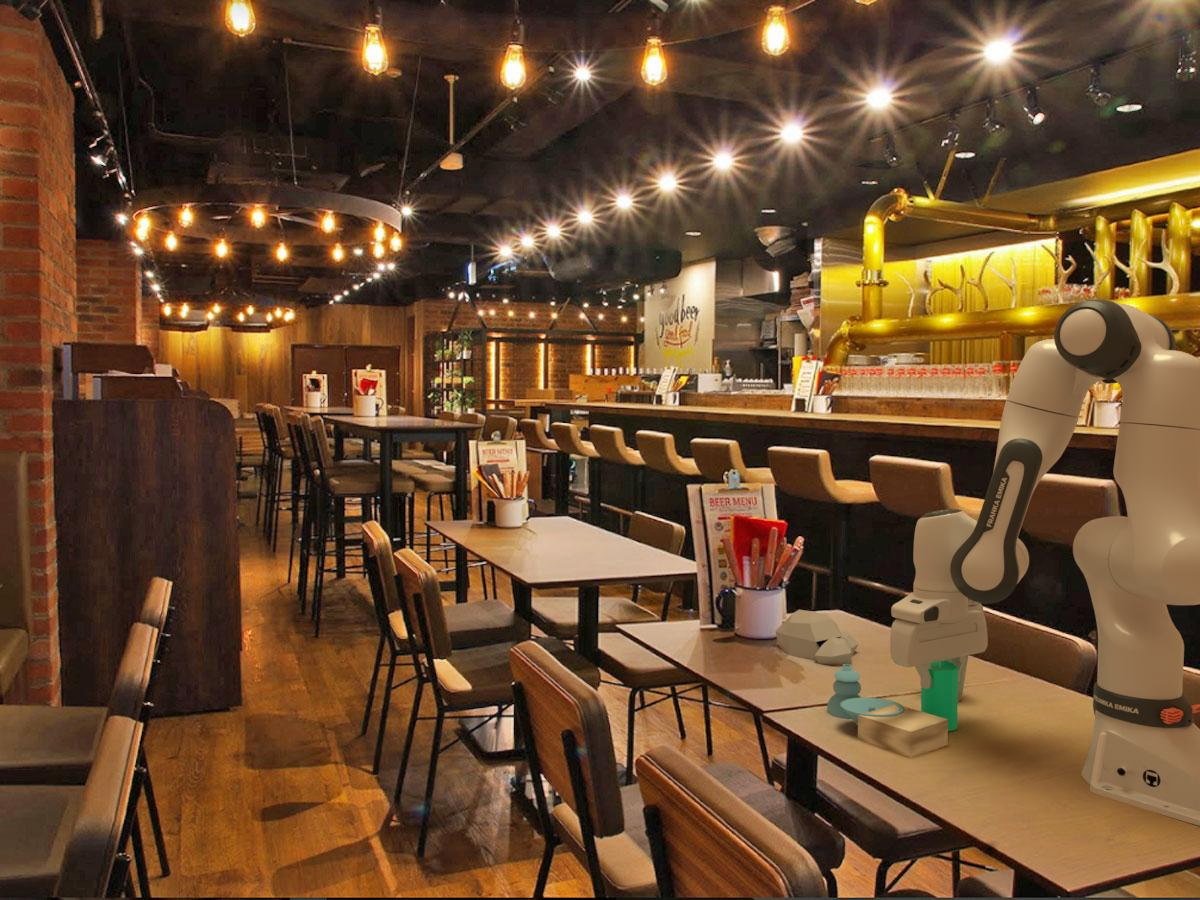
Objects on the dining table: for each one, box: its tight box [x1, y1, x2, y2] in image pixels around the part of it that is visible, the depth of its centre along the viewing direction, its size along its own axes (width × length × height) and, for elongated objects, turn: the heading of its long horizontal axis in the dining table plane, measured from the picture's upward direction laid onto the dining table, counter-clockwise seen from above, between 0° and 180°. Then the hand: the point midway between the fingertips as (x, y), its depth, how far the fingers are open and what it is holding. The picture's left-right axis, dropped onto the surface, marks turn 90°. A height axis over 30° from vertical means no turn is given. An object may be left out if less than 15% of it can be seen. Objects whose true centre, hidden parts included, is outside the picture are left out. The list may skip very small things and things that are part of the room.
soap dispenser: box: [826, 664, 905, 726], centre depth 170 cm, size 18×10×9 cm, turn 11°
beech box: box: [857, 705, 949, 758], centre depth 162 cm, size 10×10×5 cm
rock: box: [774, 609, 860, 666], centre depth 217 cm, size 18×20×10 cm
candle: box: [920, 661, 959, 732], centre depth 170 cm, size 6×6×12 cm
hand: (940, 684), depth 170 cm, fingers closed on candle, 5 cm apart
